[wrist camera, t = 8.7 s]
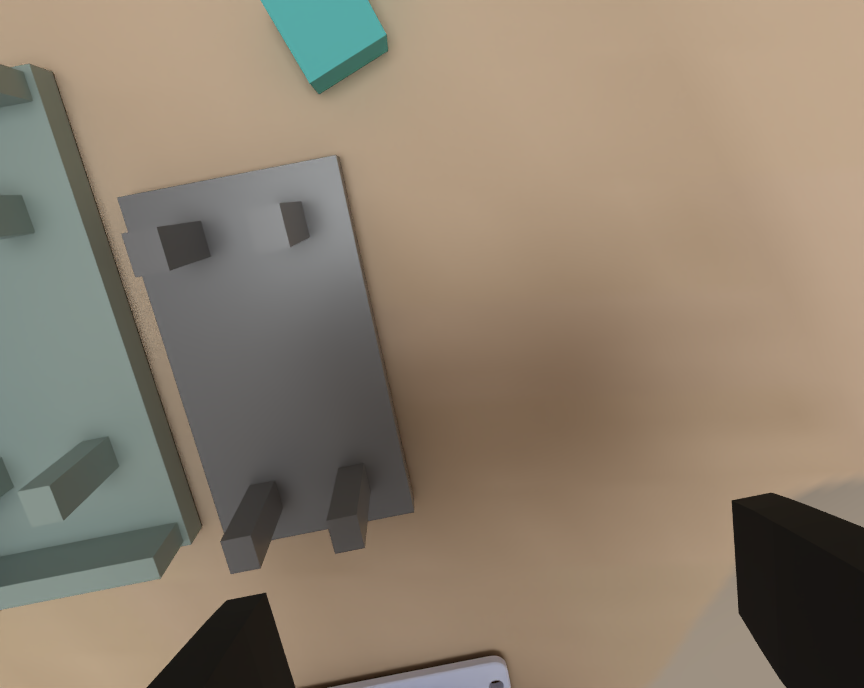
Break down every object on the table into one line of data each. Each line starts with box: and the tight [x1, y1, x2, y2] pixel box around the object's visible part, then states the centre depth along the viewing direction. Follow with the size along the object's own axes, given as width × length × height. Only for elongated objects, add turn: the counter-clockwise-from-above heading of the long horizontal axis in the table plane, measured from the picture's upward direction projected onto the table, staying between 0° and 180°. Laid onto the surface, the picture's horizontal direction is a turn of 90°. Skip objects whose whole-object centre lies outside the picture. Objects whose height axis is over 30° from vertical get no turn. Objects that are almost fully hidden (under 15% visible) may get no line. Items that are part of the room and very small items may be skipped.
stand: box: [117, 155, 414, 574], centre depth 16 cm, size 11×6×4 cm, turn 11°
